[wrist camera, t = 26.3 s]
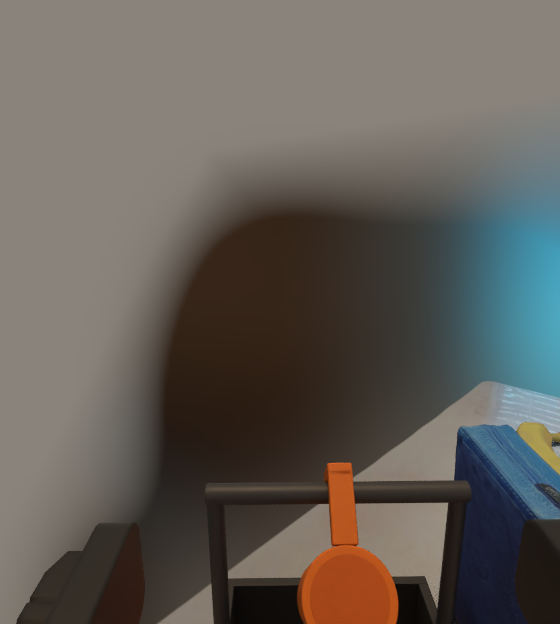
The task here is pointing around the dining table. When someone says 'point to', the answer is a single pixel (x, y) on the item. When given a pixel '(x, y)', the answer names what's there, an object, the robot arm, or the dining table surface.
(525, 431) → the banana
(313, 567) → the measuring cup
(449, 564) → the basket
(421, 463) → the dining table surface
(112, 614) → the robot arm
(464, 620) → the book
